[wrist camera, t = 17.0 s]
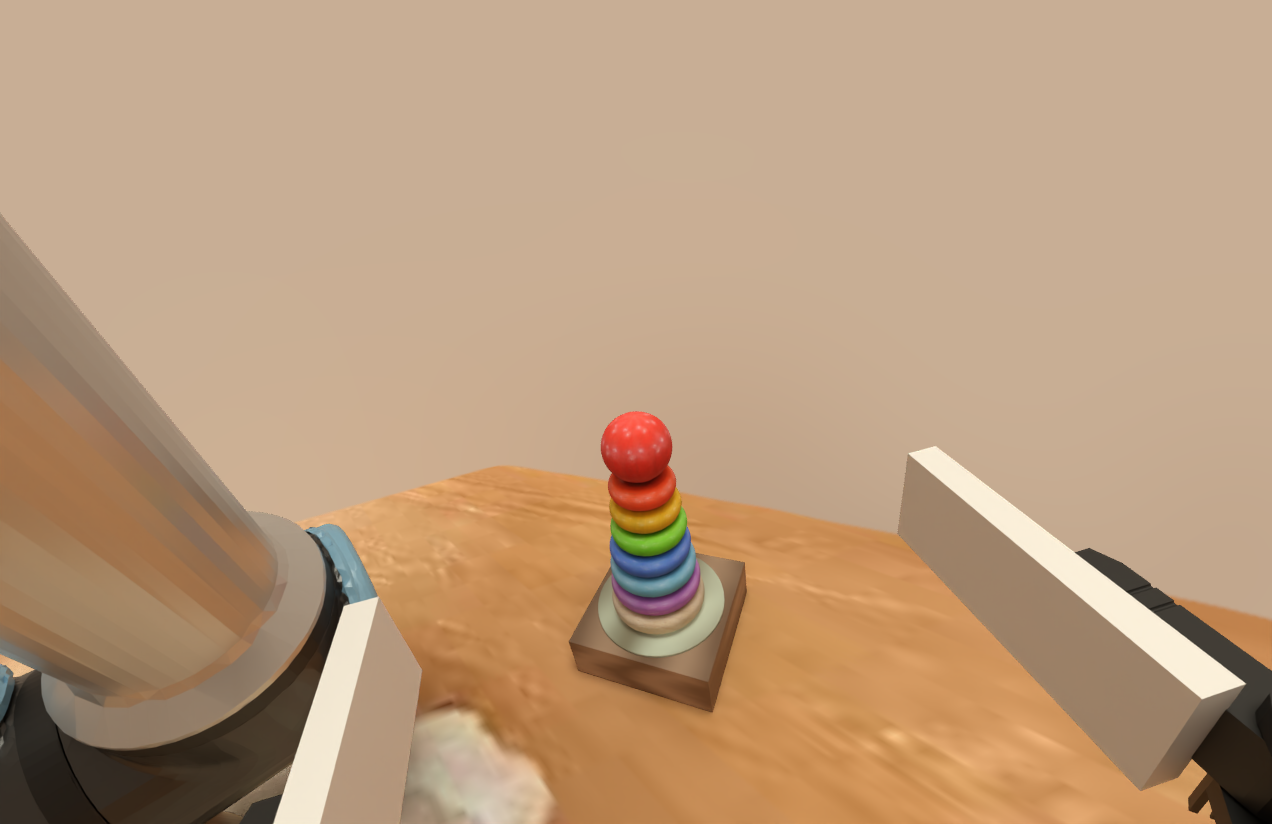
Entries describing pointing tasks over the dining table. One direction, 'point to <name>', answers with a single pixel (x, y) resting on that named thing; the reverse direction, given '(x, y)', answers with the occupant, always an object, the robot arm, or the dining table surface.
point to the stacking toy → (648, 529)
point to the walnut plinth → (666, 640)
